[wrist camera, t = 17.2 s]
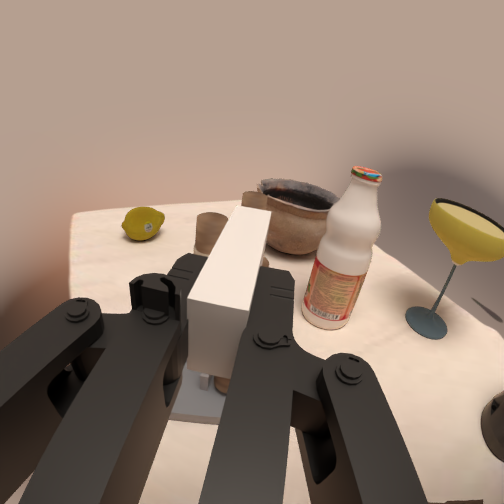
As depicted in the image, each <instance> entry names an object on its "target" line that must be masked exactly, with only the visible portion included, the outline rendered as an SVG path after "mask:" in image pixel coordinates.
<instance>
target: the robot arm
mask: <svg viewBox="0 0 504 504" xmlns="http://www.w3.org/2000/svg"><path fill="white" fill-rule="evenodd" d="M270 218H271V211H266V210H260V209H255V208H249V207H243V206H238V205H236V207H235V209H234V211H233V212H232V214H231V216H230V218H229V220H228V222H227V223H226V225H225V227H224V229H223V231H222V233H221V235H220V236H219V238H218V240H217V242H216V244H215V246H214V248H213V249H212V251H211V253H210V255H209V257H206V256H201V255H196V254H191V253H187V254H186V255H184V256H182V257H180V258H179V259H177V261H176V262H175V264H174V265H173V267H172V269H171V270H170V271H169V273H168V274H167V275H165V274H158V273H150V274H143V275H141V276H138V277H136V278H134V279H133V280H132V281H131V282H129V287H130V296H131V305H132V310H131V311H130V313H127V314H106V313H102V312H101V309H100V306H99V304H98V303H96V302H95V301H94V300H92V299H89V298H79V297H78V298H74V299H70V300H68V301H66V302H64V303H62V304H61V305H59V306H58V307H57V308H55V309H54V310H53V311H51V312H50V313H49V314H47V315H46V316H45V317H43V318H42V319H41V320H39V321H38V322H37V323H36V324H34V325H33V326H31V327H30V328H29V329H28V330H26V331H25V332H24V333H22V334H21V335H20V336H19V337H17V338H16V339H15V340H14V341H12V342H11V343H10V344H9V345H7V346H6V347H5V348H4V349H2V350H1V351H0V504H4V503H5V502H6V501H7V500H8V499H9V498H10V497H11V496H12V494H13V493H14V492H15V491H16V490H17V489H18V488H19V487H20V486H21V484H22V483H23V482H24V481H25V480H26V479H27V478H28V477H29V476H30V474H31V473H32V472H33V471H34V470H35V471H34V473H33V475H32V477H31V479H30V481H29V483H28V485H27V487H26V489H25V491H24V493H23V495H22V497H21V499H20V501H19V504H138V503H139V500H140V497H141V494H142V492H143V489H144V486H145V483H146V480H147V477H148V475H149V472H150V469H151V466H152V463H153V461H154V458H155V455H156V452H157V450H158V447H159V444H160V441H161V439H162V436H163V433H164V430H165V428H166V425H167V422H168V419H169V417H170V414H171V411H172V409H173V406H174V403H175V401H176V398H177V395H178V393H179V390H180V387H181V385H182V378H183V376H182V370H183V368H184V365H185V363H186V360H187V369H189V370H193V371H197V372H201V373H205V374H209V375H214V376H218V377H223V378H228V379H230V382H229V386H228V390H227V394H226V398H225V402H224V406H223V410H222V414H221V418H220V422H219V426H218V430H217V434H216V438H215V442H214V445H213V449H212V453H211V457H210V461H209V465H208V469H207V473H206V476H205V480H204V484H203V488H202V492H201V496H200V499H199V503H198V504H282V503H283V494H284V486H285V476H286V467H287V456H288V446H289V434H290V426H292V427H294V428H295V431H296V435H297V440H298V444H299V449H300V454H301V458H302V463H303V468H304V472H305V477H306V482H307V486H308V491H309V496H310V501H311V504H428V502H427V499H426V497H425V494H424V491H423V488H422V486H421V483H420V480H419V478H418V475H417V473H416V470H415V467H414V465H413V462H412V460H411V457H410V455H409V452H408V450H407V447H406V445H405V442H404V440H403V437H402V435H401V433H400V430H399V428H398V425H397V423H396V421H395V418H394V416H393V414H392V411H391V409H390V407H389V405H388V402H387V400H386V398H385V395H384V393H383V391H382V389H381V386H380V384H379V382H378V380H377V378H376V375H375V373H374V371H373V370H372V368H371V367H370V365H369V364H368V363H367V362H366V361H364V360H363V359H362V358H360V357H358V356H355V355H353V354H349V353H338V354H334V355H332V356H330V357H329V358H327V359H326V360H324V359H321V358H319V357H316V356H314V355H312V354H310V353H308V352H306V351H305V350H303V349H302V348H301V347H300V346H299V345H298V344H297V343H296V341H295V339H294V337H293V332H292V328H293V308H294V285H295V280H294V279H293V277H292V275H291V274H290V272H289V271H285V270H280V269H274V268H269V267H264V266H262V263H263V257H264V251H265V246H266V240H267V235H268V229H269V223H270ZM69 363H71V364H70V365H69ZM67 365H69V366H67ZM66 366H67V367H66ZM481 424H482V431H483V435H484V438H485V441H486V443H487V445H488V446H489V448H490V449H491V451H492V452H493V453H494V454H495V455H496V456H497V457H498V458H499V459H501V460H502V461H504V391H502V392H501V393H499V394H497V395H496V396H495V397H494V398H493V399H492V400H491V401H490V402H489V403H488V404H487V405H486V407H485V408H484V411H483V413H482V420H481Z"/></svg>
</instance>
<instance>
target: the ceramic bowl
mask: <svg viewBox="0 0 504 504" xmlns="http://www.w3.org/2000/svg"><path fill="white" fill-rule="evenodd" d="M257 191H258V192H259V193H263V194H265V195H266V196H267V197H268V198H267V204H266V211H271V218H270V223H269V229H268V235H267V240H266V243H267V244H268V245H269V246H271V247H272V248H274V249H276V250H278V251H280V252H284V253H288V254H298V255H300V254H307V253H310V252H313V251H314V250H316V249H318V247H319V244H320V241H321V239H322V237H323V236H324V235H325V233H326V219H327V215H328V212H329V210H330V208H331V207H332V206H333V205H334V204H335V203H336V202H338V201H339V200H340V198H338V197H337V196H336V195H335V194H333V193H331V192H329V191H327V190H325V189H322V188H320V187H318V186H315V185H312V184H308V183H304V182H298V181H294V180H290V179H272V178H271V179H265V180H262V181H261V185H260V184H257Z"/></svg>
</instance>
